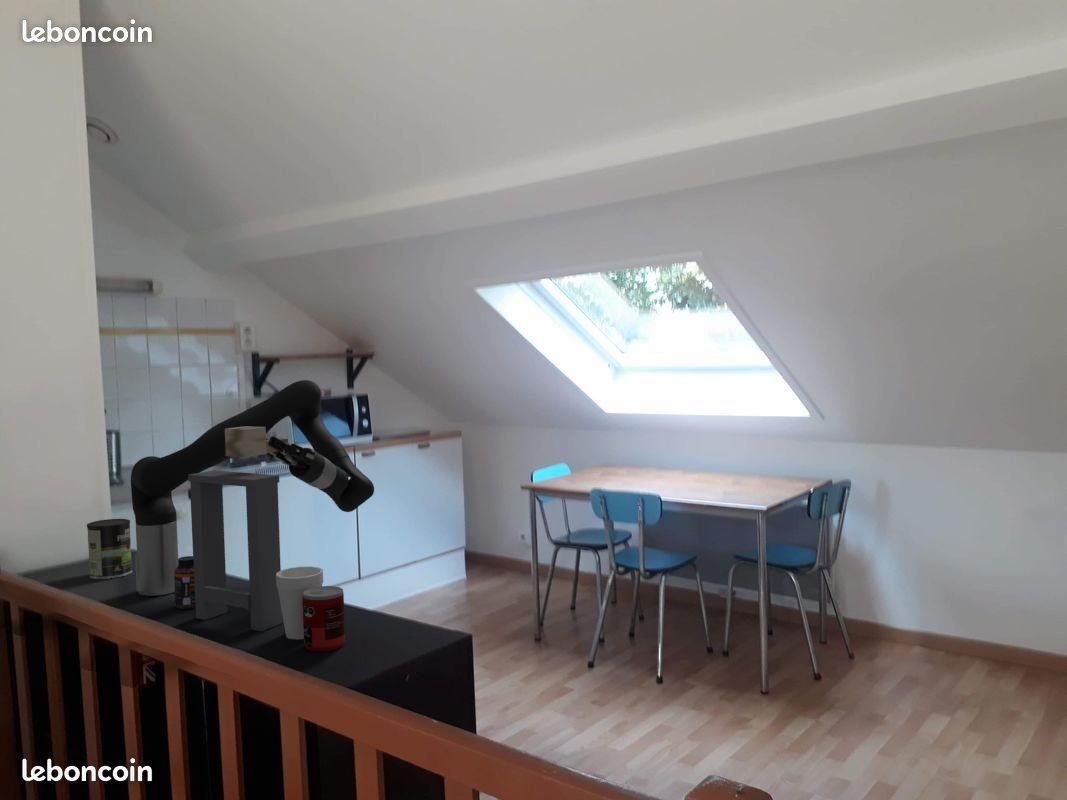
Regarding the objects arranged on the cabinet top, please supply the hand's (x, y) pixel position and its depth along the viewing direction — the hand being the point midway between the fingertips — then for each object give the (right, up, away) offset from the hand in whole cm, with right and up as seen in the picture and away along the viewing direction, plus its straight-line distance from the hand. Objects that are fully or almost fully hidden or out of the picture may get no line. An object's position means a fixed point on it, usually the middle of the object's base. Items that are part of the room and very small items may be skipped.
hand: (265, 440), depth 189 cm
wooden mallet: (-1, -3, -1) cm, 3 cm away
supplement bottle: (-19, -39, +5) cm, 44 cm away
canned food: (+19, -40, -22) cm, 50 cm away
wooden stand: (-4, -39, -6) cm, 40 cm away
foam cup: (+13, -40, -15) cm, 44 cm away
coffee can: (-52, -38, +35) cm, 73 cm away
